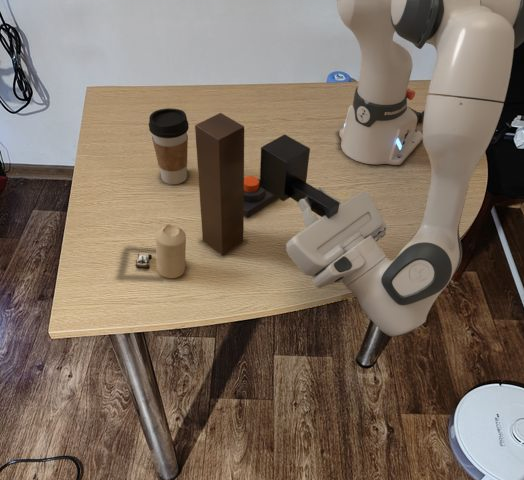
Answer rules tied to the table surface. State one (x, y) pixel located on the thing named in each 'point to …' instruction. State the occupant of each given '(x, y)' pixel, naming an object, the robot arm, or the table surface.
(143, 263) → the toy car
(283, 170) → the black hammer
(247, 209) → the switch plate
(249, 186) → the switch button
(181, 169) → the coffee cup
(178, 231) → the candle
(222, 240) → the post
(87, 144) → the table surface
